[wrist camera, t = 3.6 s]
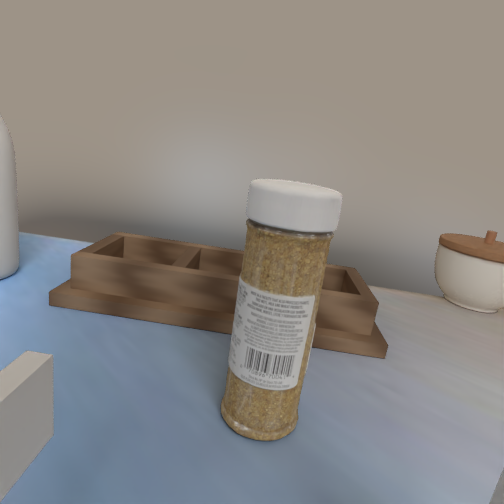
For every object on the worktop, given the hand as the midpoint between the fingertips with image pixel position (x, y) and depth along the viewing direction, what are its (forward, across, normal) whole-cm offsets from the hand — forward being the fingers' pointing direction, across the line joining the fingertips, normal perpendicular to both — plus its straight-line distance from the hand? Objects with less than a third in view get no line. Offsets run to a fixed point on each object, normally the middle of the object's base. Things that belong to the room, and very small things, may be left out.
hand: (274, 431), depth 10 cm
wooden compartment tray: (+24, -4, -7) cm, 26 cm away
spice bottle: (+9, 0, -7) cm, 12 cm away
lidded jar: (+36, +26, -7) cm, 45 cm away
